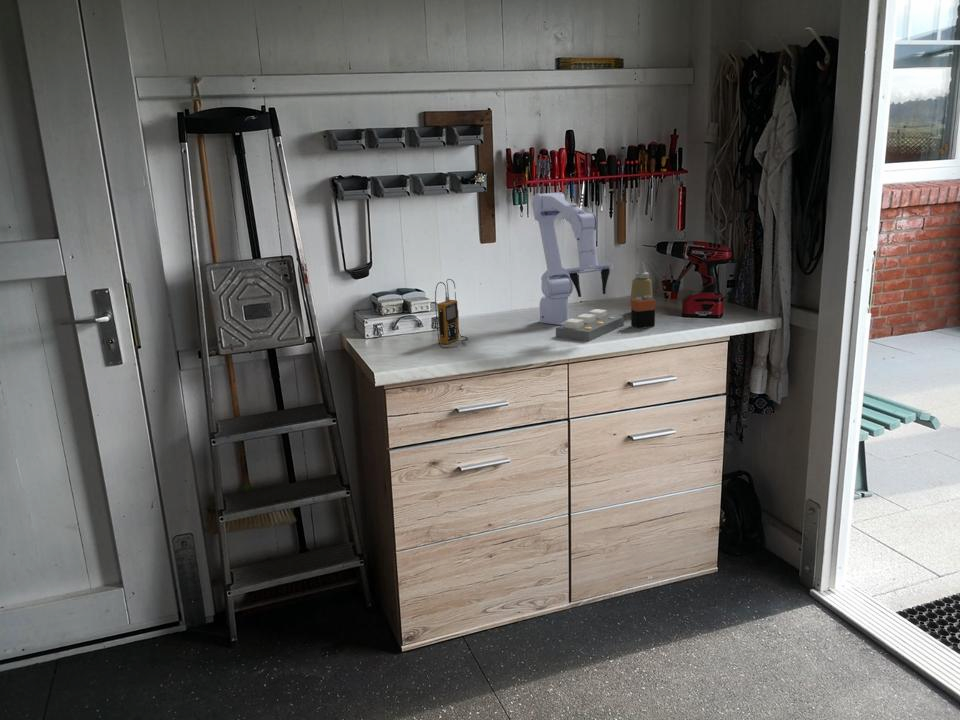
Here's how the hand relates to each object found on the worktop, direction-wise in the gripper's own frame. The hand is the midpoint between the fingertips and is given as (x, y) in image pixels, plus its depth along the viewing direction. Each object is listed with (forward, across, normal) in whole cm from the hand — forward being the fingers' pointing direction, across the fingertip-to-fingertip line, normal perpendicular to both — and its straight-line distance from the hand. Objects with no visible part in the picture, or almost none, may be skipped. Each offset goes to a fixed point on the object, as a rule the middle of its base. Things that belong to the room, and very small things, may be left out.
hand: (592, 295), depth 245 cm
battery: (+12, +14, +18) cm, 26 cm away
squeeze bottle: (+8, +13, +38) cm, 41 cm away
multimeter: (+10, -42, -9) cm, 44 cm away
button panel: (+12, -3, +10) cm, 16 cm away
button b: (+9, -4, +10) cm, 14 cm away
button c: (+8, -1, +18) cm, 20 cm away
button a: (+10, -7, +3) cm, 13 cm away
